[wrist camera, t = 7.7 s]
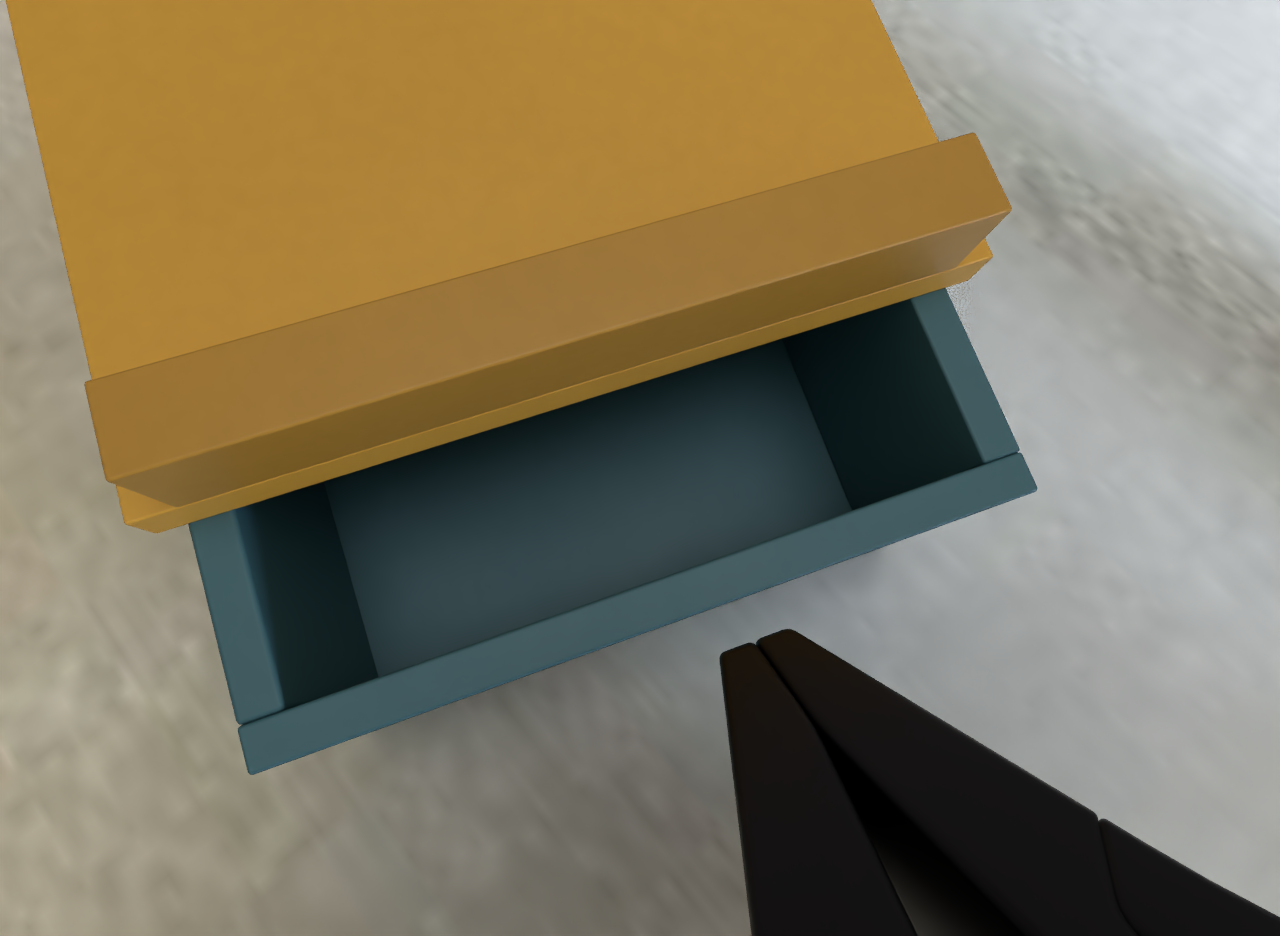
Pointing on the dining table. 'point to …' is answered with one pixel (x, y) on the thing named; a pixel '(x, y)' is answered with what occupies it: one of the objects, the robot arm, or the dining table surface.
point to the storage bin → (596, 523)
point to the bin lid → (460, 213)
